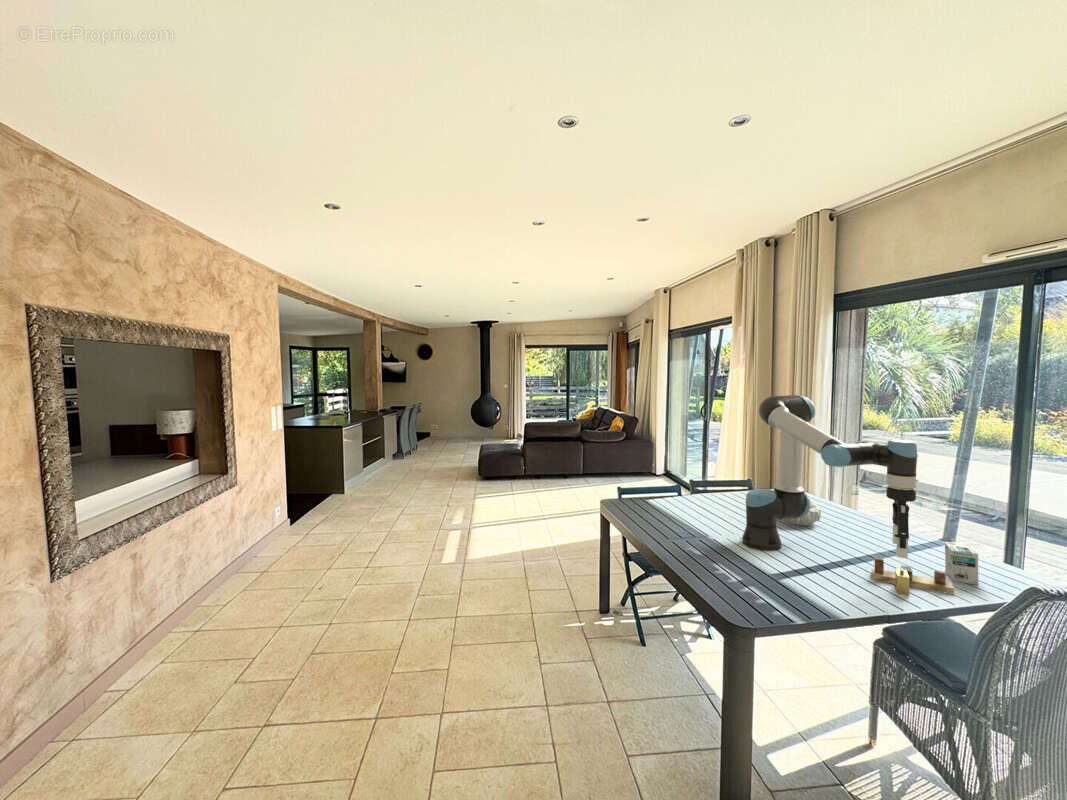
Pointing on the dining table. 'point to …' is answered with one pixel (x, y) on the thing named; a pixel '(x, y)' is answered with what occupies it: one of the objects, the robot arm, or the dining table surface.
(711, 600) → the dining table surface
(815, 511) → the bowl
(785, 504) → the robot arm
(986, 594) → the dining table surface
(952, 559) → the light bulb box
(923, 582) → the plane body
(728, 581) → the dining table surface
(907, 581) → the lever cap
